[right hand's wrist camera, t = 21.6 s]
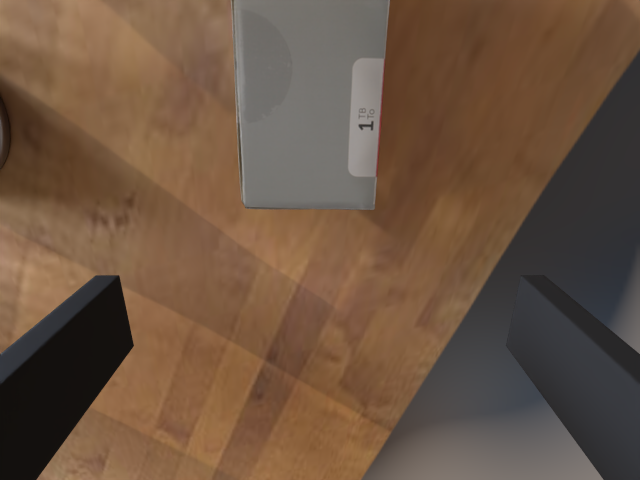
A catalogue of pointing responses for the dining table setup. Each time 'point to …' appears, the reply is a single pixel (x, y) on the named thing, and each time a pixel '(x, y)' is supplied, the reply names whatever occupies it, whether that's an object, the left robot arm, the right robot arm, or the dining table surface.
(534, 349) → the right robot arm
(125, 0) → the dining table surface
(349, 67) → the hard drive box
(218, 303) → the dining table surface
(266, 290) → the dining table surface
